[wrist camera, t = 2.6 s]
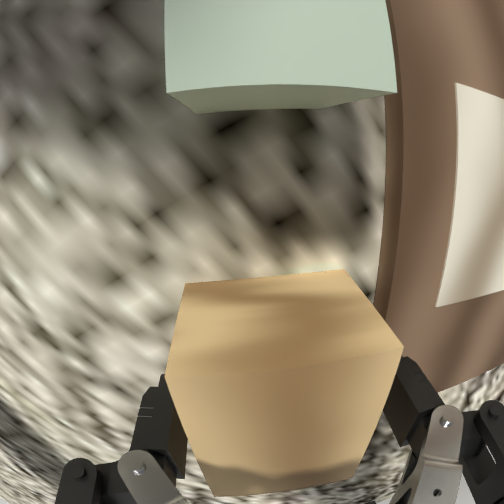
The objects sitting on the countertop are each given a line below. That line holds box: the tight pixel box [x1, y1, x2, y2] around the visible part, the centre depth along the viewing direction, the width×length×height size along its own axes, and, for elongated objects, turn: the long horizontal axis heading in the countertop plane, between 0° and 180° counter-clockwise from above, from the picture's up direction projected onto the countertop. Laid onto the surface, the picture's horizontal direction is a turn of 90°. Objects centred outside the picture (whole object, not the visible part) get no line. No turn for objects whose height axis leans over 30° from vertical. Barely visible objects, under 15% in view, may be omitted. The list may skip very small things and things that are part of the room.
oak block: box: [165, 269, 404, 497], centre depth 10 cm, size 6×8×5 cm
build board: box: [373, 0, 504, 392], centre depth 10 cm, size 12×22×1 cm, turn 3°
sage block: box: [164, 0, 397, 114], centre depth 6 cm, size 4×4×5 cm
